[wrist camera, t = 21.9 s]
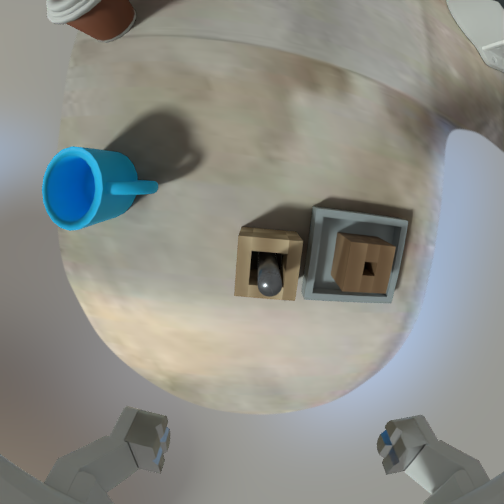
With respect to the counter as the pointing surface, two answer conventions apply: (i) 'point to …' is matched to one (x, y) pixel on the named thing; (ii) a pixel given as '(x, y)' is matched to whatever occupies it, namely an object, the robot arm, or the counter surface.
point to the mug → (90, 187)
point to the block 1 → (268, 242)
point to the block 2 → (362, 263)
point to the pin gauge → (268, 274)
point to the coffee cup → (94, 16)
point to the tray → (323, 246)
